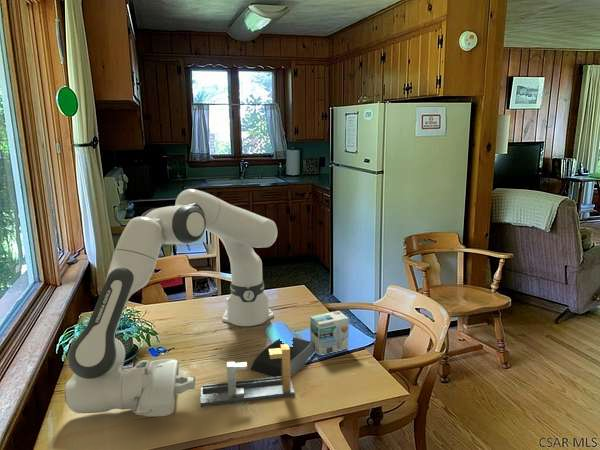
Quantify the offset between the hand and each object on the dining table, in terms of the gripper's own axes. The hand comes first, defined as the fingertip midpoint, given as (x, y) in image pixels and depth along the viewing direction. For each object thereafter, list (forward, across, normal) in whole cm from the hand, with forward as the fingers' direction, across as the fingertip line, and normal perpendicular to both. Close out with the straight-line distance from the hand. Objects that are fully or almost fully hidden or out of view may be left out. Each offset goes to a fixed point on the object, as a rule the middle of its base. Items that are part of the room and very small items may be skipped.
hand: (195, 382), depth 114 cm
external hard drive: (+26, +17, +7) cm, 31 cm away
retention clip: (+11, 0, +5) cm, 12 cm away
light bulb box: (+40, +21, +6) cm, 46 cm away
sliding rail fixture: (+13, +1, +6) cm, 14 cm away
